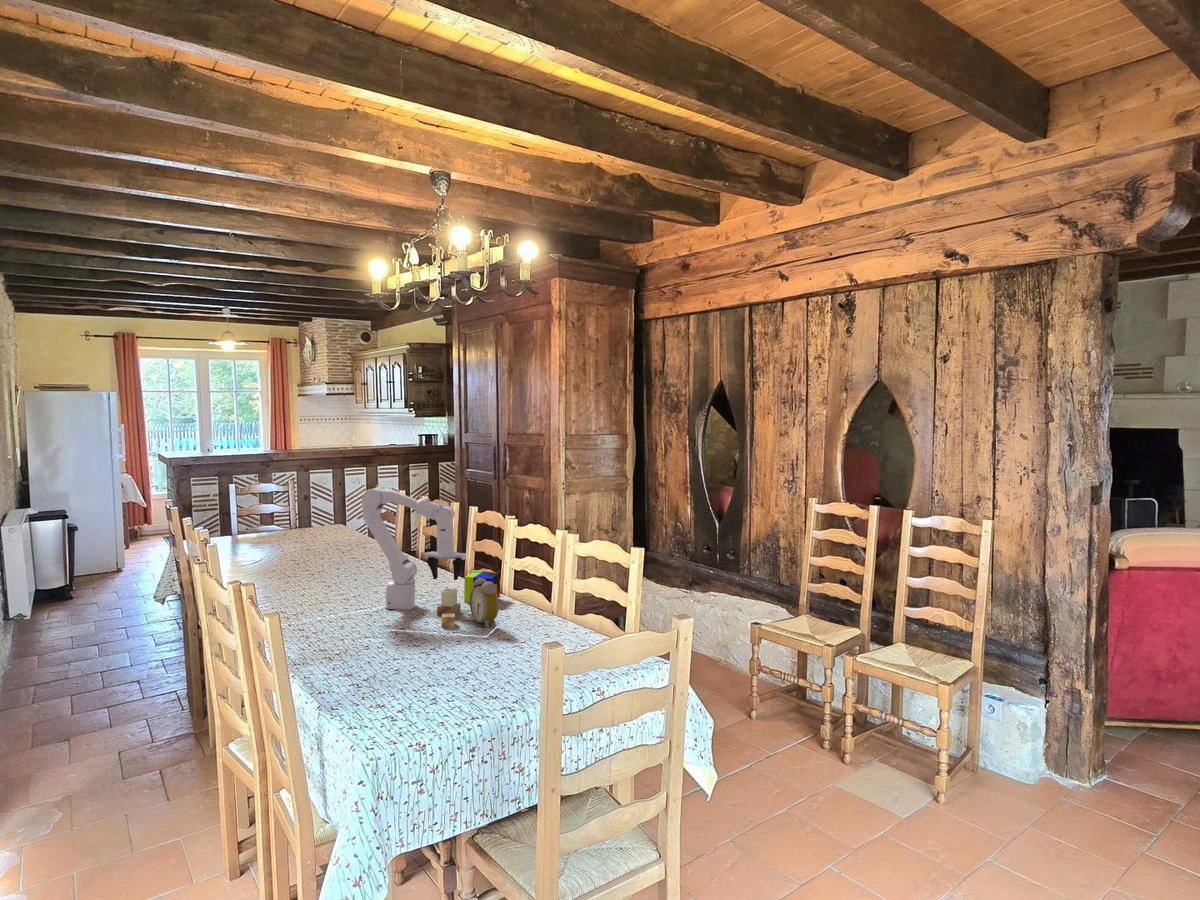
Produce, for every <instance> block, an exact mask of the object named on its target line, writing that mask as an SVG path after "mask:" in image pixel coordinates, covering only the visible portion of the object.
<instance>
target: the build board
mask: <svg viewBox="0 0 1200 900" xmlns="http://www.w3.org/2000/svg"><path fill="white" fill-rule="evenodd" d="M470 612H471V609H462V608H460V612H459V613H458V614H457V615H455V621H456V620H458V621H460V620H461V619H462V618H463V617H465V616H467V614H468V613H470ZM425 618H427V619H429V618H430V619H431V618H432V619H441V620H442V616H439V615H437V609H435V610H433V611H432V612H431V613H429V614H428V615H426V616H425Z"/></svg>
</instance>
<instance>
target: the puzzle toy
mask: <svg viewBox="0 0 1200 900" xmlns="http://www.w3.org/2000/svg"><path fill="white" fill-rule="evenodd" d="M478 578H483V579H485V580H486V581H487V582H492V583H493V584H494V585H495V586H496V593H497V596H498V598H499V597H500V598H501V572H491V571H478V570H475V571H472V572H471V573H469V574H467V575H465V576H464V588H463V589H464V590H463V591H464V595H463V597H464V599H463V600H464V601H463V603H466V604H467V603H469V604H470V595H471V591H472V589H473V583H474V581H475V580H476V579H478Z"/></svg>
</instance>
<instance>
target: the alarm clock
mask: <svg viewBox="0 0 1200 900" xmlns="http://www.w3.org/2000/svg"><path fill="white" fill-rule="evenodd" d="M499 602H500V600H498V596H497V593H496V586H495V585H494V584H493V583H492V582H487V581H486V580H485V579H483V578H478V579H476V580H475V581H474V583H473V589H472V591H471V595H470V603H469V608H470V609H469V610H471V611H470V612H471V615H472V618H473V622H477V623H483V624H484V626H485V629H489V626H490V623H492V624H495V623H496V621H495V620H496V618H497V616H498V614H499V610H500V608H499V607H500V603H499Z"/></svg>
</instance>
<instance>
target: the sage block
mask: <svg viewBox="0 0 1200 900" xmlns="http://www.w3.org/2000/svg"><path fill="white" fill-rule="evenodd" d="M440 593H441V596H440V597H441V599H440V601H441V602H440V603H441V606H449V607H453V606H454V605H456V604H457V603H458V589H456V588H445V589H443V590H441V592H440Z"/></svg>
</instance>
